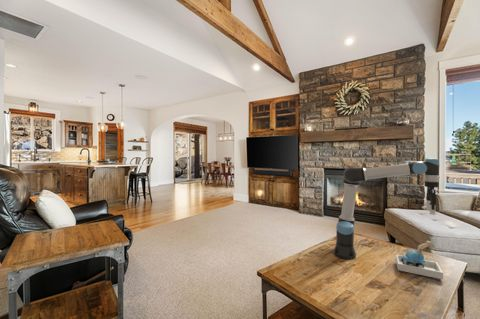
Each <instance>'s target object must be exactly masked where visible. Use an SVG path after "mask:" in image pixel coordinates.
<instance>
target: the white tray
mask: <svg viewBox="0 0 480 319" xmlns="http://www.w3.org/2000/svg"><path fill="white" fill-rule="evenodd" d="M395 255H396V256H395V262H396V268H397V270H398V273H403V272H407V273H410V274H411V273H412V274H414V275H415V274H416V275H421V276H425V277H430V278H435V279H436V281H438V282H439V281H441V280H444V272H443V270H442V268H441V266H440V264H439V263H438V261H432V260H427V259H424V260H425V264H424V263H422V264H423V265H424V268H420V267H415V266H410V265H405V264H403V263H402V261H401V259H402V258H403V256H404V255H400V254H395Z"/></svg>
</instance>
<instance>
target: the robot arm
mask: <svg viewBox="0 0 480 319" xmlns="http://www.w3.org/2000/svg"><path fill="white" fill-rule="evenodd" d="M423 174H424V177H423V178H424V184H423V186H424V187H426V195H425V196H426V197H425V199H426V210H427V211H429V214H430V215H434V216H435V215H436V205H437V194H436V193H437V192H436V191H437V190H436V189H435V188H439V184H440V183H439V179H440V178H441V177H440V176H439V174H440V160H439V158H429V157H428V158H425V159H424V161H420V160H419V161H418V160H416V161H415V160H405V161H403V163H401V164H391V165H385V166H384V165H383V166H377V167H375V166H374V167H369V168H368V167H367V168H365V167H356V166H352V165H351V166H348V167H346V168H345V169H344V171H343V179H342V180H343V181H342V183H343V184H344V187H343V188H344V189H343V197H342V204H341V214H340V215H339V216H338V221H337V223H336V227H335V229H336V231H335V232H336V237H335V242H336V243H335V246H334V248H333V255H334V257H336V258H339V259H342V260H351V261H352V260H354V259H356V258H357V253H356V250H355V246H354V243H355V242H354V240H355V237H354V236H355V223H356V218H355V217H354V211H355V206H356V205H355V204H356V199H357V198H356V196H357V189H358V187H359V186H360V183H361V182H367V180H373V179H382V178H391V177H399V176H409V175H423Z"/></svg>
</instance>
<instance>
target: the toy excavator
mask: <svg viewBox="0 0 480 319" xmlns="http://www.w3.org/2000/svg"><path fill="white" fill-rule="evenodd" d="M426 248H428V249H430V250H431V251H432V250H434V249H435V244H434V243H433V242H431V241H430V240H425V242H424V243H421V244H419V245H418V246H417V251H416V250H414V249H408V250H407V251H406V253H405V254H404V255H402V256H403V258H402V259H401V261H402V263H403V264H405V265H410V266H415V267H420V268H424V265H423V264H422V263H424V264H425V260H426V259H424V258H425V257H424V254H423V250H425V249H426Z"/></svg>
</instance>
